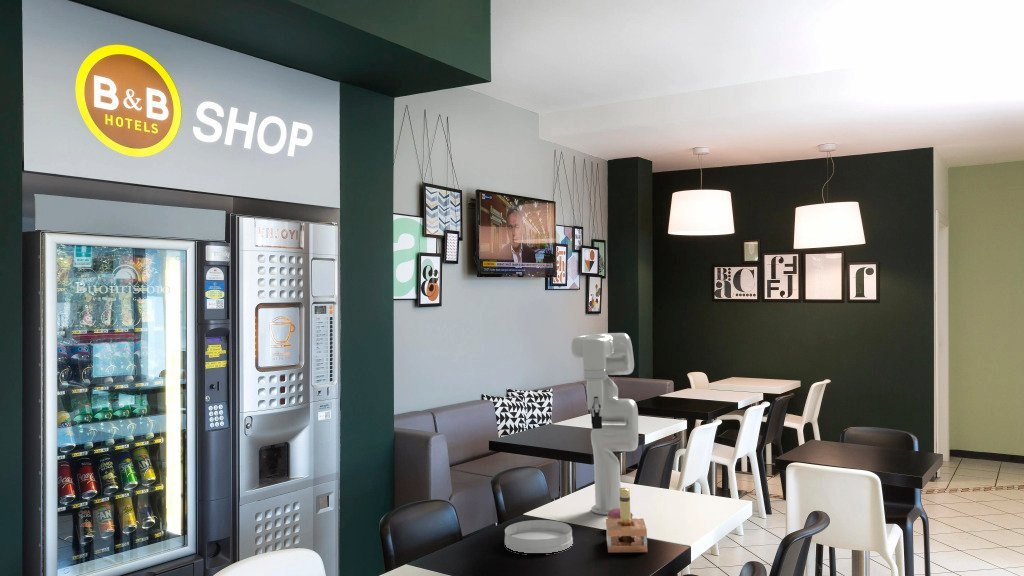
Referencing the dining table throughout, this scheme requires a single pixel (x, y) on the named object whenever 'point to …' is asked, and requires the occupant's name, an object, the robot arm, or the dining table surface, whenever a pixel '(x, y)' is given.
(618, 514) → the cupcake
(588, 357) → the robot arm
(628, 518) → the air tube
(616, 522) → the collar stand
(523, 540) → the dish
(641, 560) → the dining table surface
